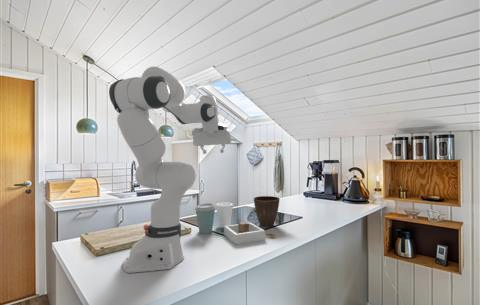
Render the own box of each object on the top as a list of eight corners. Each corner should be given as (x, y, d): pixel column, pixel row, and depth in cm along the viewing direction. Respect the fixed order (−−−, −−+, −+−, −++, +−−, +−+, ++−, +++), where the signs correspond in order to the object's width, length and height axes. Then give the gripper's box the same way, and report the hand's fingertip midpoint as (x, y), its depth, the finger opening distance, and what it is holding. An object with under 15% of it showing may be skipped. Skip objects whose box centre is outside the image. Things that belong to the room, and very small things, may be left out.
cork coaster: (267, 240, 124) (267, 239, 124) (259, 235, 131) (259, 234, 131) (281, 238, 127) (281, 237, 127) (273, 233, 134) (273, 232, 134)
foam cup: (233, 224, 151) (233, 202, 151) (231, 229, 141) (231, 206, 141) (217, 224, 152) (217, 202, 152) (214, 229, 142) (214, 205, 142)
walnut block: (241, 238, 125) (241, 224, 125) (238, 236, 128) (238, 222, 128) (249, 237, 126) (249, 223, 126) (245, 235, 130) (245, 221, 130)
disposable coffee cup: (203, 237, 128) (203, 207, 128) (191, 233, 136) (191, 204, 136) (219, 232, 136) (219, 204, 136) (206, 228, 143) (206, 201, 143)
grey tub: (235, 245, 117) (235, 234, 117) (224, 235, 131) (224, 226, 131) (264, 241, 123) (264, 230, 123) (250, 232, 137) (250, 222, 137)
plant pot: (266, 231, 138) (266, 201, 138) (248, 225, 150) (248, 198, 150) (285, 226, 148) (285, 198, 147) (266, 221, 159) (266, 195, 159)
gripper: (189, 129, 133) (193, 155, 135) (228, 126, 130) (231, 153, 133) (193, 128, 139) (196, 153, 141) (230, 125, 136) (232, 150, 139)
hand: (213, 153), depth 137 cm, fingers open, 8 cm apart
